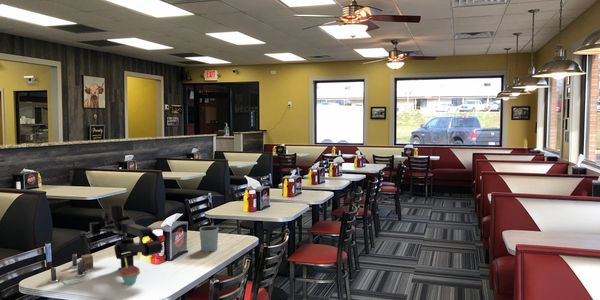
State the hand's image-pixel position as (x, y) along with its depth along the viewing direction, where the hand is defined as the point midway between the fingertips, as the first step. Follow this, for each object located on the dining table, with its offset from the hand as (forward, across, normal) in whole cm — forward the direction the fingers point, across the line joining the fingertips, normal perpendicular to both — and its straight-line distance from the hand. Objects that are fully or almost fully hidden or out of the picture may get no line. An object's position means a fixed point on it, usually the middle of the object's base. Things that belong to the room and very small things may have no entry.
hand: (102, 227), depth 237 cm
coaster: (-20, +22, +22) cm, 37 cm away
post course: (-6, +21, +19) cm, 29 cm away
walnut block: (-5, +10, +18) cm, 21 cm away
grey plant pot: (-24, -47, +17) cm, 55 cm away
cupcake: (-39, +5, +24) cm, 46 cm away
